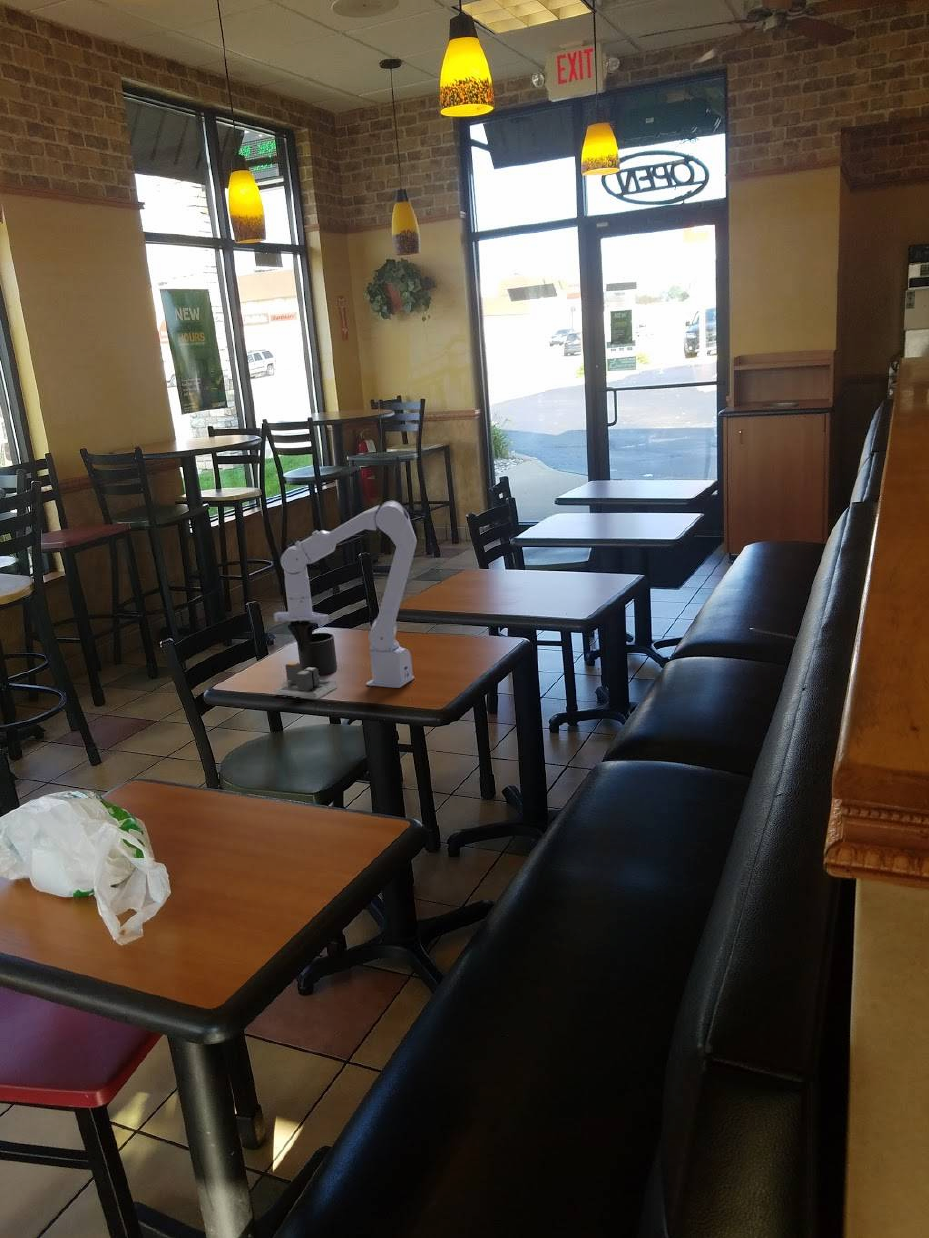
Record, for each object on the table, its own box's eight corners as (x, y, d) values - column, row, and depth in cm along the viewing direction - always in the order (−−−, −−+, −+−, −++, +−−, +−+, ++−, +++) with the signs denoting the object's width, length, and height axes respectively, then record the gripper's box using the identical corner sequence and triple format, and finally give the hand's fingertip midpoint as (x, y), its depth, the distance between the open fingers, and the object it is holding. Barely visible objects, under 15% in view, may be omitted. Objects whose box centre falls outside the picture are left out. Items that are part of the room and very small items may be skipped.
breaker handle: (302, 678, 237) (300, 662, 236) (297, 681, 235) (295, 665, 234) (292, 677, 239) (290, 661, 238) (287, 680, 237) (285, 664, 236)
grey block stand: (337, 687, 234) (334, 663, 233) (316, 699, 227) (313, 675, 225) (297, 683, 240) (294, 660, 238) (275, 695, 232) (272, 671, 230)
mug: (345, 662, 254) (342, 629, 252) (330, 676, 243) (326, 642, 241) (312, 662, 256) (308, 630, 254) (295, 677, 245) (291, 643, 243)
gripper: (264, 599, 229) (270, 653, 233) (314, 601, 223) (320, 657, 227) (281, 592, 236) (287, 645, 239) (331, 594, 229) (336, 648, 233)
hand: (304, 650), depth 233 cm, fingers closed
